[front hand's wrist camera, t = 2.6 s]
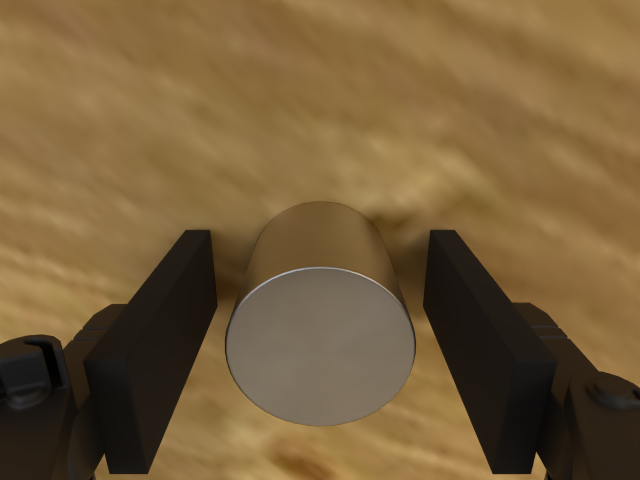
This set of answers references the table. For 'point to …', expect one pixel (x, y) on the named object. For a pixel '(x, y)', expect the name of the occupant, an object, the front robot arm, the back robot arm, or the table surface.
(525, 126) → the table surface
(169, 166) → the table surface
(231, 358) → the canister
